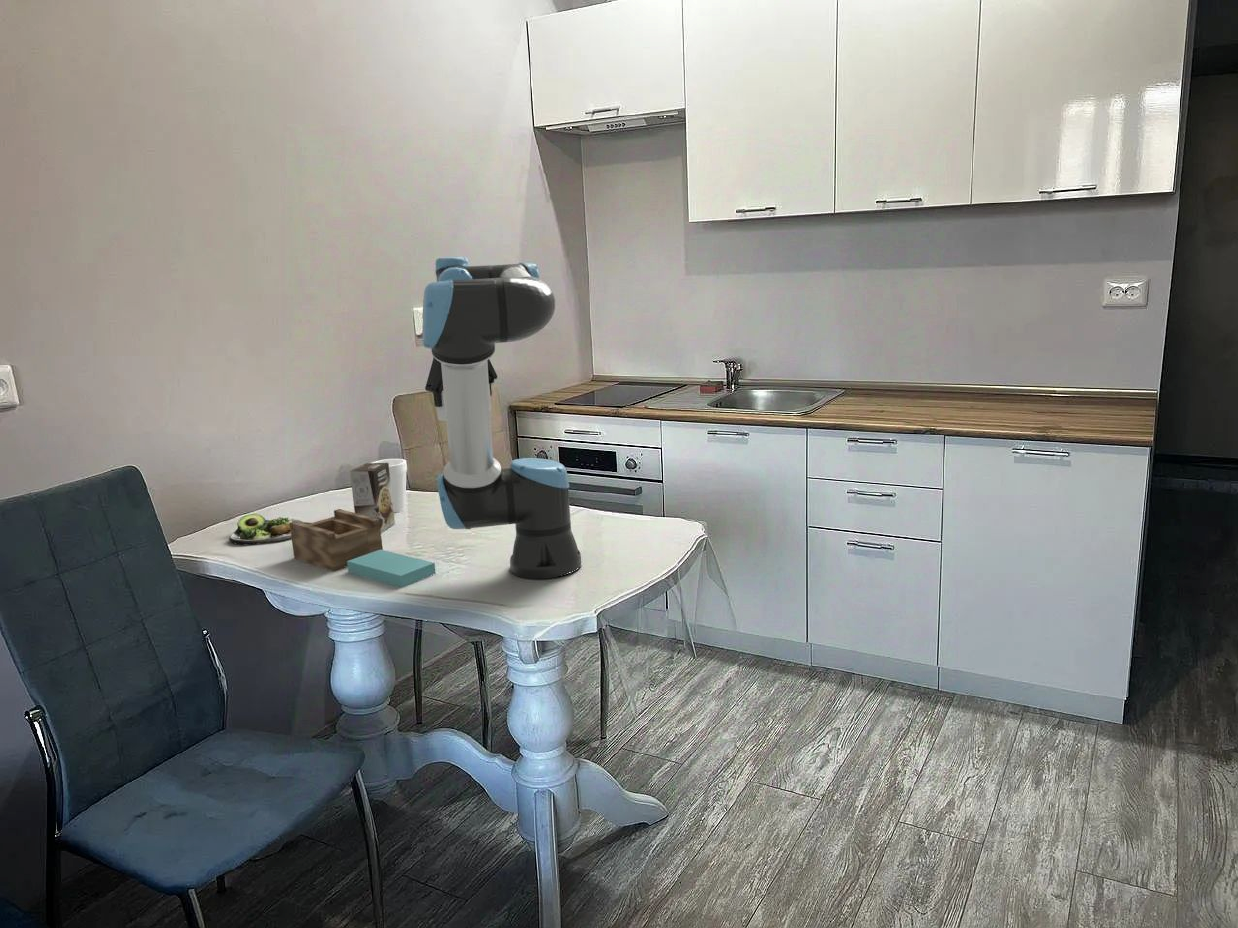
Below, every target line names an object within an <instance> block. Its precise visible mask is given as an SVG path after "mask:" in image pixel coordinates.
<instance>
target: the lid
mask: <svg viewBox="0 0 1238 928" xmlns="http://www.w3.org/2000/svg"><path fill="white" fill-rule="evenodd" d="M347 565H348V567H347V570H348V571H347V572H348V573H350V574H354V575H358V576H361V577H364V578H367V579H371V580H374V581H377V582H378V581H379V582H382V583H385V584H389V585H393V586H397V587H400V588H405V587H407V586H409V585H411V584H414V583H417V582H420V581H422V580H424V579H423V578H425V579H427V578H430V577H432V576H434V575H433V574H435V575H437V573H436V564H435V562H432V561H428V560H426V559H421V558H416V557H413V556H408V555H404V554H400V553H397V552H394V551H393V552H392V551H389V550H384V549H383V550H381V549H380V550H377V551H375V552H372V553H369V554H366V555H363V556H360V557H357V558H355V559H352V560H349V561H347ZM431 575H432V576H431ZM429 576H430V577H429ZM426 577H427V578H426ZM421 579H422V580H421ZM419 580H420V581H419Z"/></svg>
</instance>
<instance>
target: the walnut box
mask: <svg viewBox="0 0 1238 928" xmlns="http://www.w3.org/2000/svg"><path fill="white" fill-rule="evenodd" d="M309 523H310V524H304V523H301V522H297V521H294V522H290V531H291V543H292V552H293V558H294V559H295V560H298V561H302V562H305V563H308V564H311V565H314V566H316V567H320V568H322V569H326V570H329V571H331V572H336V571H339V570H342V569H344V568H348V565H347V561H349V560H352V559H355V558H357V557H360V556H363V555H366V554H369V553H372V552H375V551H377V550H380V549H381V550H384V548H383V538H382V533H381V530H380V521H379V519H377V518H373V517H369V516H365V515H361V514H357V513H355V512H354V511H349V510H345V509H341V508H338V509H334V510H333V516H332V517H328V518H325V519H322V520H317V521H314V522H309Z"/></svg>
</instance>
